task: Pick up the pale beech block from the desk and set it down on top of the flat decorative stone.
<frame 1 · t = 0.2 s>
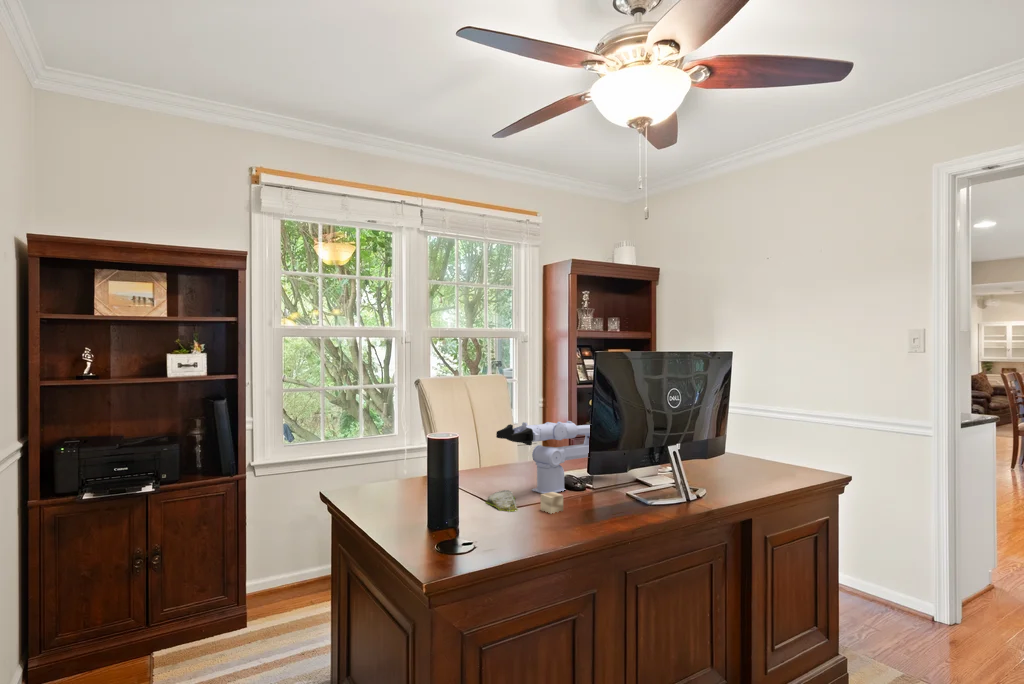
hand: (504, 436, 186), 21 cm above the table, tool horizontal, fingers open, 7 cm apart
beech block: (551, 510, 175), on the table
decorative stone: (502, 503, 186), on the table
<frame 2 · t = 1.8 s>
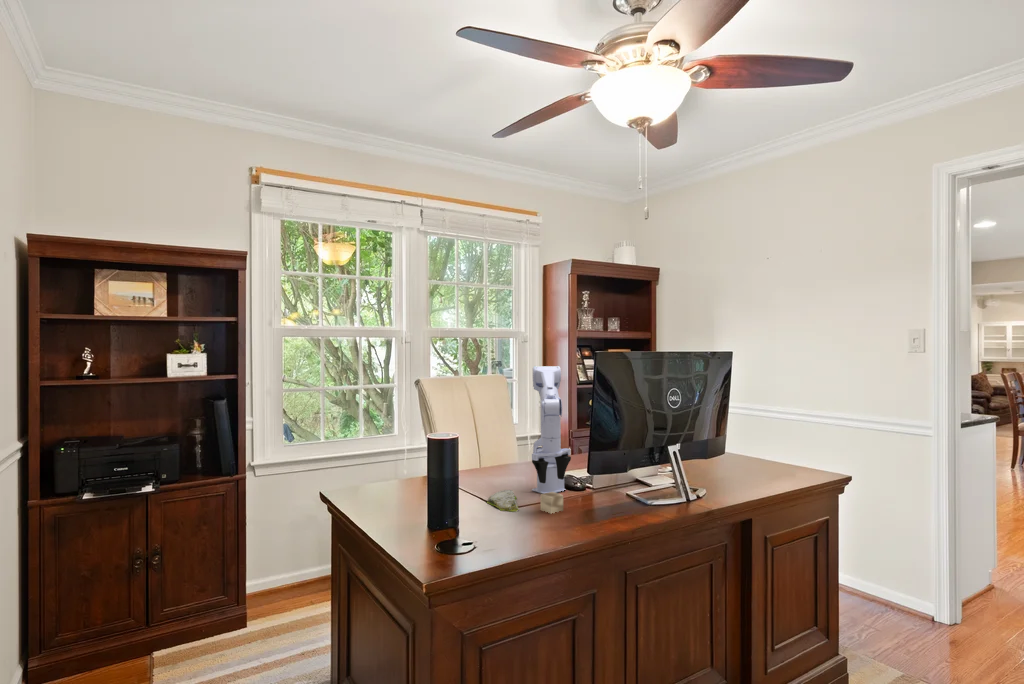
hand: (551, 480, 176), 9 cm above the table, tool pointing down, fingers open, 7 cm apart
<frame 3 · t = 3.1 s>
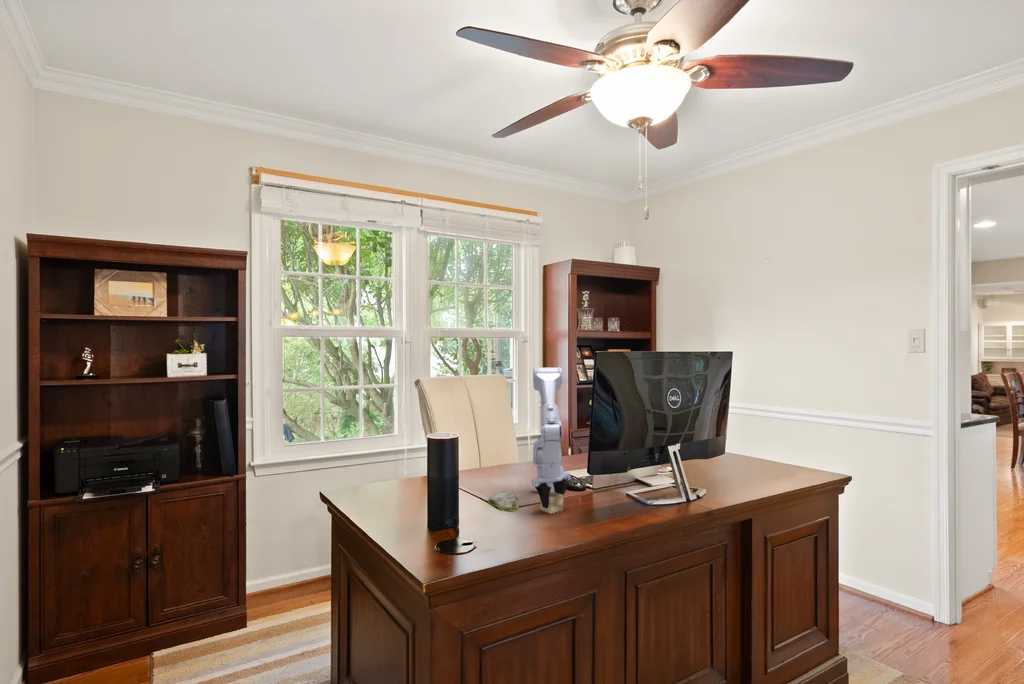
hand: (551, 505, 175), 1 cm above the table, tool pointing down, fingers closed on beech block, 5 cm apart
beech block: (551, 510, 175), on the table, touching gripper
everything else where it was.
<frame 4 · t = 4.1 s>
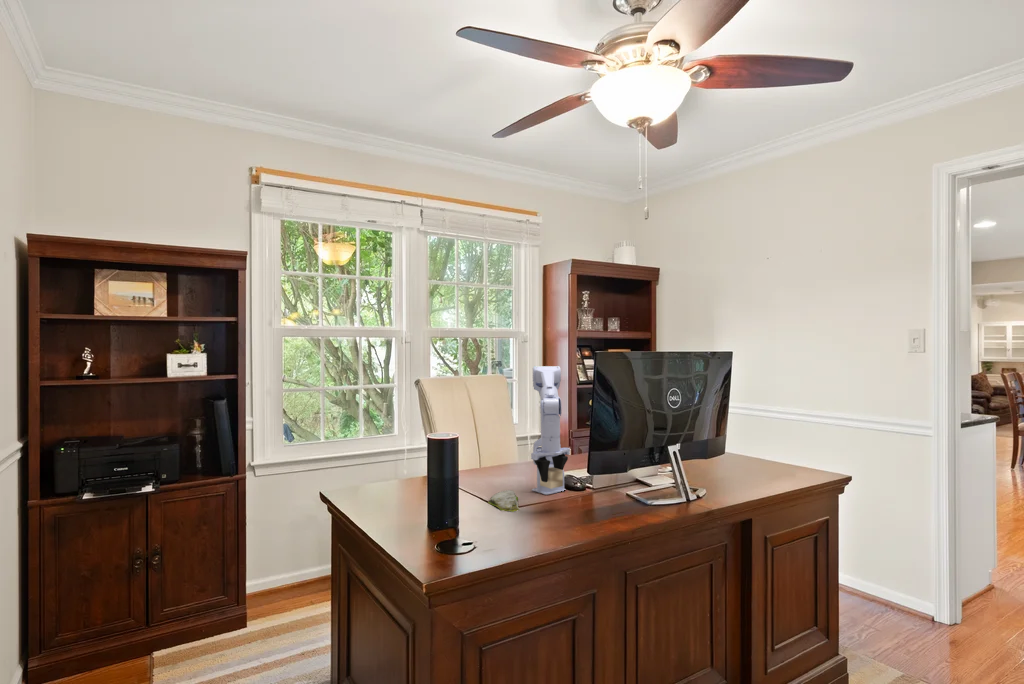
hand: (551, 480, 176), 9 cm above the table, tool pointing down, fingers closed on beech block, 5 cm apart
beech block: (551, 485, 176), point 8 cm above the table, touching gripper
everything else where it was.
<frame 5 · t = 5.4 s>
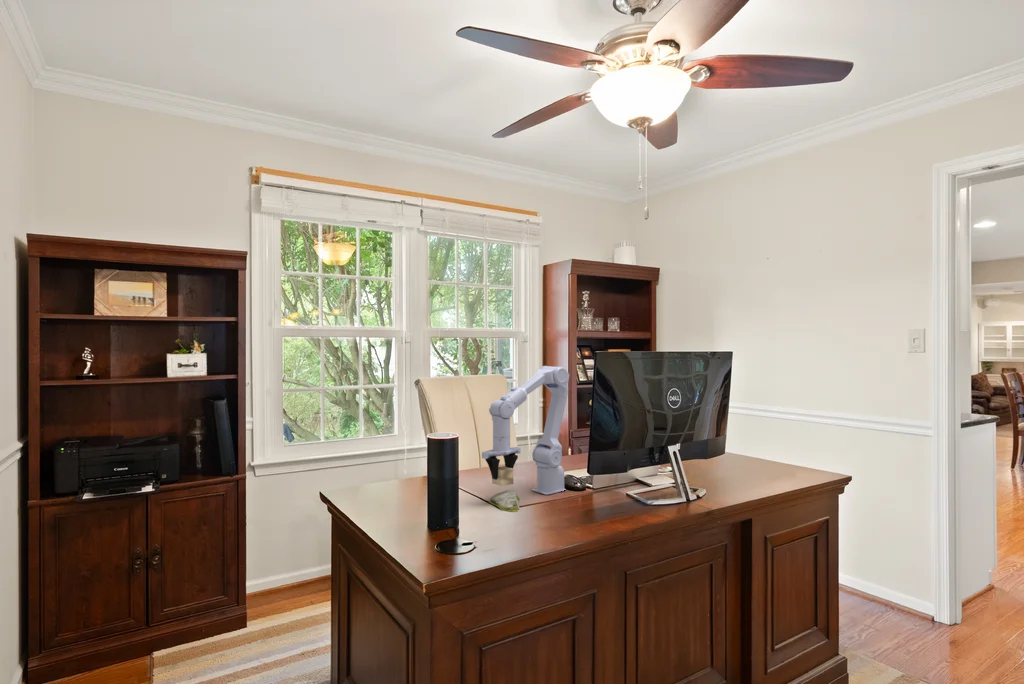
hand: (501, 477, 186), 8 cm above the table, tool pointing down, fingers closed on beech block, 5 cm apart
beech block: (502, 483, 186), point 6 cm above the table, touching gripper
when the fingers open (7 cm above the table, at t = 6.0 s): beech block drops 2 cm, resting on decorative stone.
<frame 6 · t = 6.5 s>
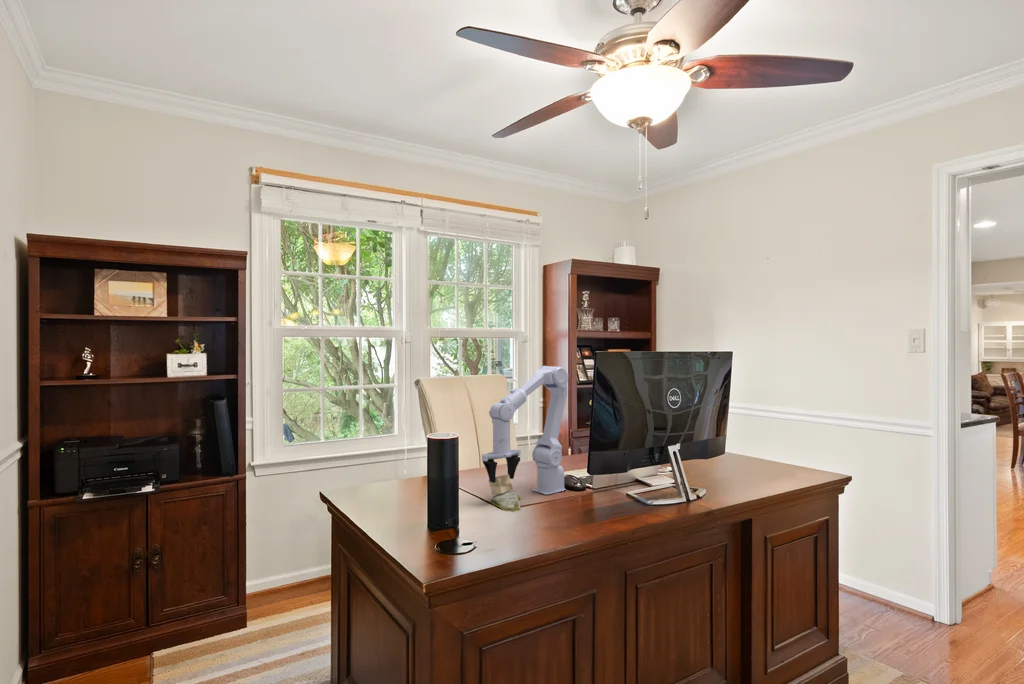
hand: (501, 480, 186), 7 cm above the table, tool pointing down, fingers open, 7 cm apart
beech block: (502, 492, 186), point 3 cm above the table, tilted 17°, touching decorative stone
decorative stone: (506, 503, 186), on the table, touching beech block
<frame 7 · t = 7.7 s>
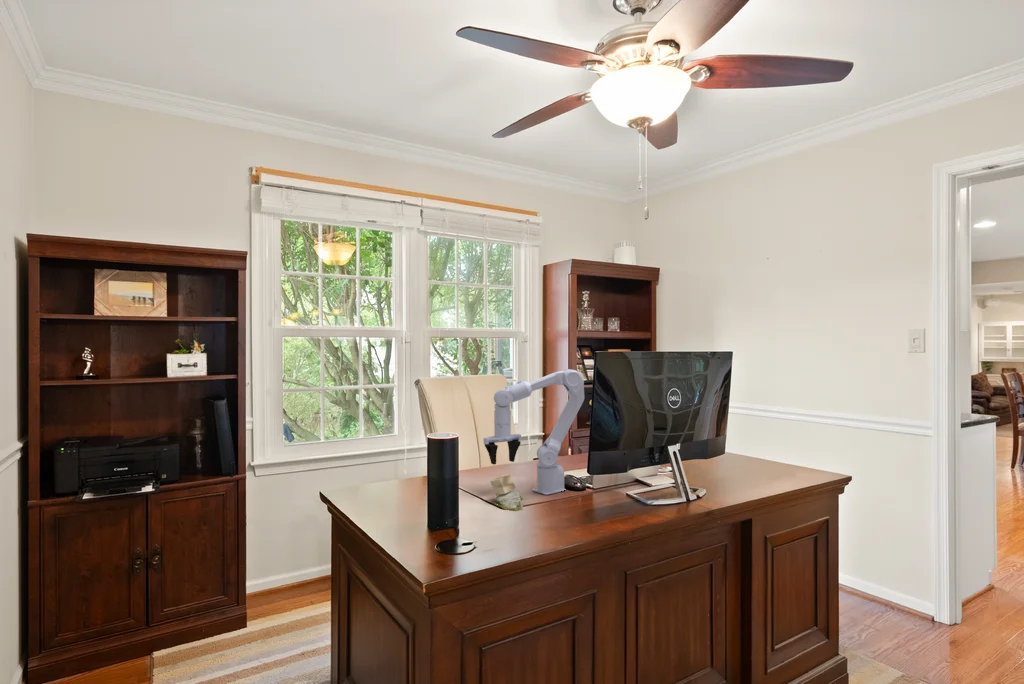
hand: (502, 462, 197), 10 cm above the table, tool pointing down, fingers open, 7 cm apart
beech block: (505, 491, 186), point 3 cm above the table, tilted 22°, touching decorative stone
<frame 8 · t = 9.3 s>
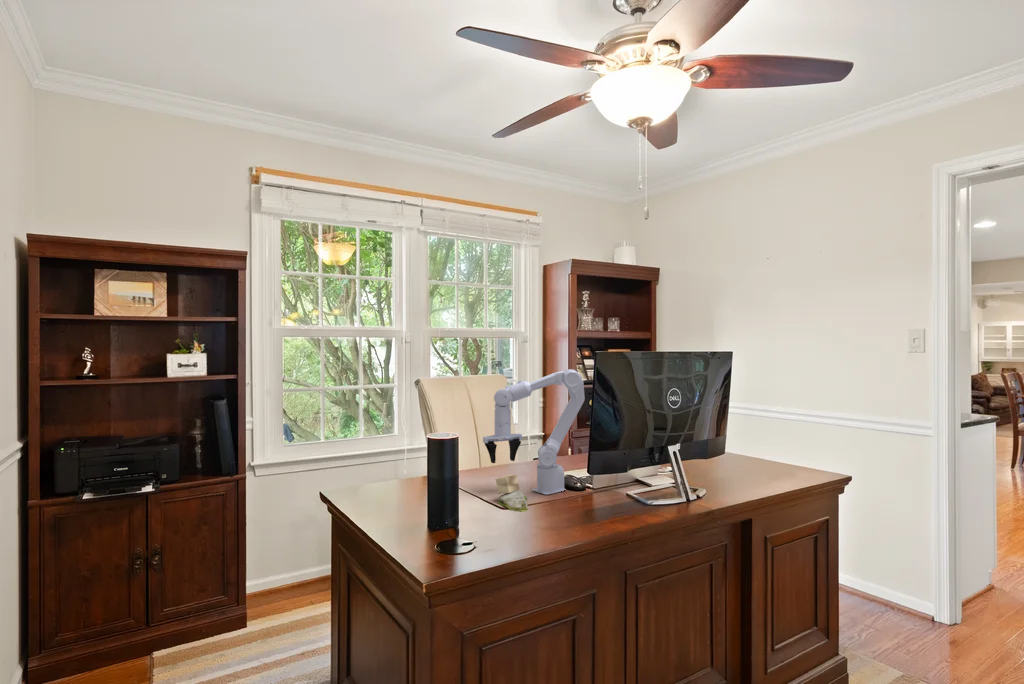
hand: (502, 461, 199), 10 cm above the table, tool pointing down, fingers open, 7 cm apart
beech block: (509, 491, 187), point 3 cm above the table, tilted 14°, touching decorative stone
decorative stone: (513, 503, 186), on the table, touching beech block
at the end: beech block inside the target area on the decorative stone (1.4 cm from its centre), point 3.8 cm above the decorative stone's base; beech block tilted 14°; the gripper is holding nothing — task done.
